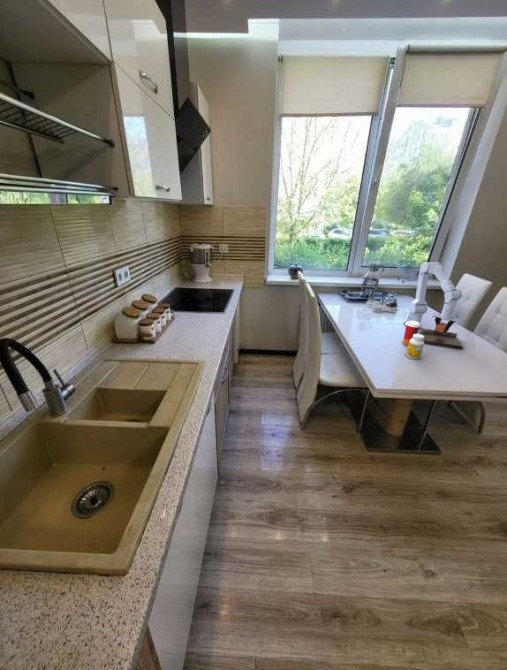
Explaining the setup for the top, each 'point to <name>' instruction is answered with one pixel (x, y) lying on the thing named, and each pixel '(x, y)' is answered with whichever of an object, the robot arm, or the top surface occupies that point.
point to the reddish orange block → (440, 328)
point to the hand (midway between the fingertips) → (441, 330)
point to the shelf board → (441, 338)
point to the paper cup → (410, 331)
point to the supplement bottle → (415, 346)
